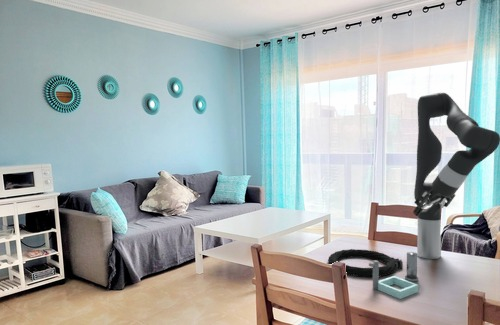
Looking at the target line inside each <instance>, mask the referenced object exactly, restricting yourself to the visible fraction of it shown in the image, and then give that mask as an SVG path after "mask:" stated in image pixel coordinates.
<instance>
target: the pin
mask: <svg viewBox="0 0 500 325" xmlns="http://www.w3.org/2000/svg"><path fill="white" fill-rule="evenodd" d="M404 280H406V281H409V282H412V283H417V282H419V277H418V255H417V252H414V251H413V252H412V251H409V252H408V251H407V253H406V275H405V276H404Z"/></svg>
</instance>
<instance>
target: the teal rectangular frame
mask: <svg viewBox="0 0 500 325" xmlns="http://www.w3.org/2000/svg"><path fill="white" fill-rule="evenodd" d="M368 266H369V267H370V268H373V277H372V290H374V291H380V292H382V293H385V294H388V295H390V296H391V297H394V298H397V299H400V300H401V299H403V298H406V297H409V296H412V295H415V294H417V293H419V284H417V283H416V282H410V281H407V280H406V279H405V278H404V279H403V278H401V277H398V276H395V275H393V276H389V277H387V278H383V279H381V280H379V279H380V278H379V277H380V276H379V267H380V262H379V260H375V259H373V260H372V262H368ZM393 285H396V286H399V287H401V289H398V288H396V287H393Z"/></svg>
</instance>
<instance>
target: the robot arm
mask: <svg viewBox="0 0 500 325" xmlns="http://www.w3.org/2000/svg"><path fill="white" fill-rule="evenodd" d="M443 116H444V117H445V116H447V117H446V126H447V128H448V129H449V130H450V131H451V132H452V134H454V135H455V136H457V138H458V140H459V143H460V144H461V145H462V146H464V147H466V148H468V150H464V149H463V150H457V151H455V153H454V154H453V155H452V157H450V159H449V160H448V161H447V164H446V165H445V166H443V168H442V169H441V170H440V172H439V173H438V174H437V176H436V177H435V179H434V180H433V181H432V182H425V181H426V179H427V177H428V176H429V175H430V174H431V172H433V171H434V170H435V169H436V168H437V167H438V166H439V165H440V163H441V159H442V154H443V153H442V152H443V145H442V143H441V140H440V139H439V138H438V137H437V135H436V134H435V133H434V131H433V129H432V128H431V125H430V123H431V122H430V120H431V119H434V118H440V117H443ZM417 124H418V126H417V128H418V129H417V131H418V133H417V146H416V147H417V148H416V173H415V183H414V192H413V193H414V194H413V195H414V200H415V201H414V205H416V207H414V210H413V212H412V213H413V214H414V216H416V217H417V247H416V248H417V249H416V250H417V252H416V253H417V257H420V258H423V259H428V260H437V259H440V258H441V256H442V235H441V226H442V225H441V223H442V222H441V221H442V220H441V216H442V215H441V212H442V209H443V208H444V207H445V208H448V207H449V205H450V204H451V202H452V201H453V200H454V198H455V197H456V193H457V191H458V190H459V189H460V187H461V186H462V185H463V184H464V182H465V181H466V179H467V178H468V176H469V175H470V174H471V172H472V171H473V170H474V168H475V167H476V166H477V165H478V164H479V163H482V161H484V160H485V159H486V158H488V157H489V156H490V155H492V154H493V153H494V152H495V151H496V150H497V148H498V147H499V145H500V134H499V133H498V132H496V131H495V130H491V129H488V128H484V127H481V126H479V123H478V122H477V121H476V120H475V119H473V118H472V117H471V116H469V115H467V114H466V113H465V112H464V111H463V110H462V109H461V108H460V107H459V105H458V104H457V102H456V101H455V100H454V99H453V98H452V97H451V96H450V95H449V94H448V93H446V92H435V93H429V94H425V95H421V96H420V97H419V98H418V101H417Z"/></svg>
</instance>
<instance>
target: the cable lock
mask: <svg viewBox="0 0 500 325" xmlns="http://www.w3.org/2000/svg"><path fill="white" fill-rule="evenodd" d="M348 258H363V259H371V260H376V261H380V262H381V263H384V264H385V265H383V266H379V277H385V276H387V275H390V274H392V273H394V272H395V271H397V270H400V269H403V266H404V265H403V260H402V259H399V258H395V257H391V256H389V255H387V254H385V253H383V252H379V251H376V250H369V249H356V248H355V249H354V248H351V249H349V248H348V249H342V250H338V251H335V252H333V253H331V254H330V256H328V258H327V263H328V265H329V264H332V263H334V262H336V261H339V260H343V259H348ZM345 265H346V272H347V274H346V276H354V277H359V278H373V267H360V266H351V265H348V264H345Z"/></svg>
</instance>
